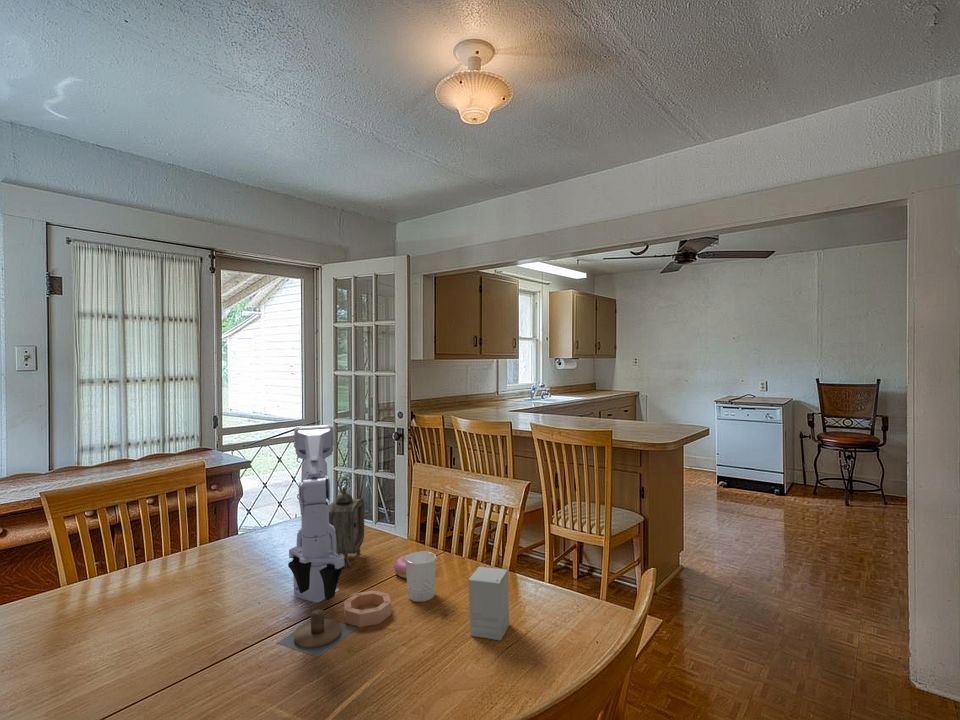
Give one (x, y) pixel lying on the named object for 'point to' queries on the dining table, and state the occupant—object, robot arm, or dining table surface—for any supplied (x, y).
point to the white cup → (421, 575)
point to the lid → (317, 631)
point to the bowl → (367, 608)
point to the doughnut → (401, 567)
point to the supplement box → (489, 603)
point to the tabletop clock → (347, 523)
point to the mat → (317, 652)
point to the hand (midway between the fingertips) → (316, 594)
